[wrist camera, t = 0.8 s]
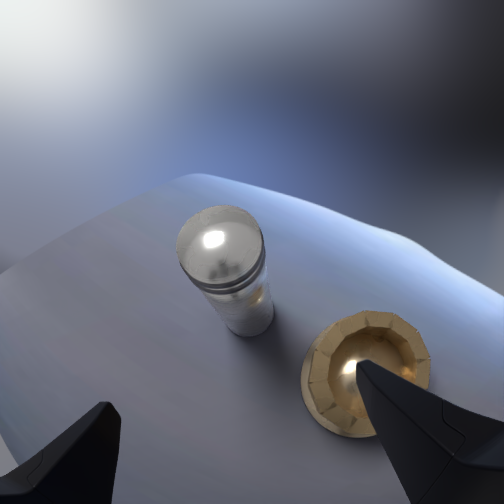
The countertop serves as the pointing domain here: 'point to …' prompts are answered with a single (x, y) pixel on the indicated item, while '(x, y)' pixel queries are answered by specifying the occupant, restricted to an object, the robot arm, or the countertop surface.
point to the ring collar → (344, 367)
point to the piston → (228, 266)
